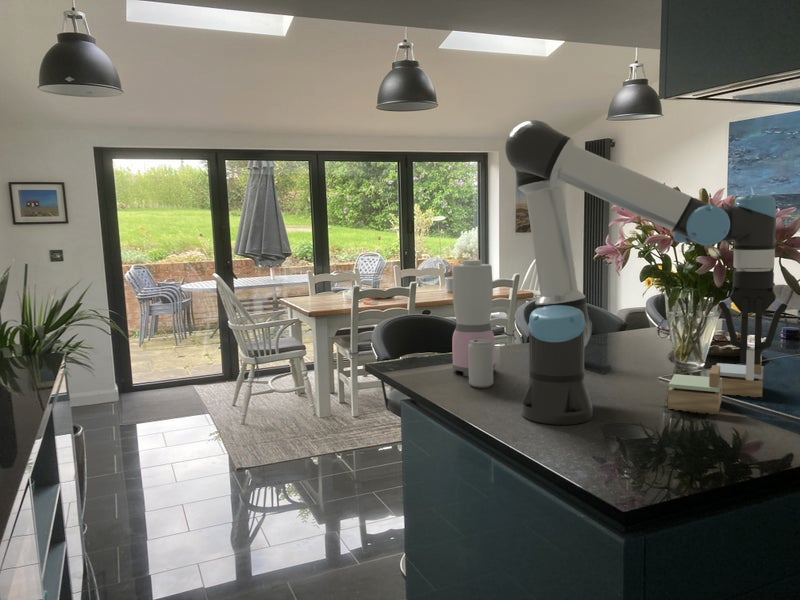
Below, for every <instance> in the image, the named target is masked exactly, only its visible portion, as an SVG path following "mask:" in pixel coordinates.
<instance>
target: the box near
mask: <svg viewBox="0 0 800 600" xmlns="http://www.w3.org/2000/svg"><path fill="white" fill-rule="evenodd" d="M668 388H669V389H668V398H667V399H668V401H667V403H668V405H667V410H669V409H674V410H673V411H678V410H682V411H681V412H687V411H689V412H690V413H696V412H697V413H699V414H705V413H709V414H708V415H714V414H720V409H721V404H722V399H723V398H722V395H723V394H722V384H721V387H720V391H719V392H712V391H701V390H691V389H680V388H670V387H668Z"/></svg>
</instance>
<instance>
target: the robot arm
mask: <svg viewBox="0 0 800 600" xmlns="http://www.w3.org/2000/svg"><path fill="white" fill-rule="evenodd" d="M504 149H505V150H504V151H505V155H506V158H507V161H508V162H509V165H510V166H511V167H512V168H513V169H514V170H515V175H516V182H517V189H518V191H520V192H522V193H524V195H525V198H526V205H527V212H528V219H529V225H530V232H531V239H532V247H533V253H534V260H535V268H536V272H537V278H538V279H537V280H538V281H537V282H538V287H539V297H538V298H537V299H536V300H535V302H534V303H535V309H534V310H533V311H531V312H530V314H529V319H528V321H529V322H528V325H527V329H528V333H529V334H528V335H529V336H528V337H529V338H528V340H529V341H528V347H529V348H528V350H529V354H528V356H529V358H528V359H529V361H528V362H529V364H528V365H529V376H528V377H529V379H528V384H527V386H526V390H525V393H524V395H523V398H522V402H521V415H522V417H524V418H526V419H527V420H529V421H532V422H534V423H535V422H536V423H541V424H546V425H559V426H560V425H561V426H565V425H577V424H582V423H586V422H588V421H590V420H591V419H593V410H594V409H593V404H592V401H591V398H590V394H589V391H588V388H587V386H586V382H585V348H586V346H587V345H588V344H589V341H590V339H591V337H592V332H593V323H592V319H591V318H590V317H591V316H589V313H588V305H587V299H586V295H585V294H584V293H582V292H581V291H580V290H579V289H578V284H577V276H576V268H575V262H574V256H573V255H574V254H573V249H572V243H571V242H572V240H571V234H570V228H569V219H568V214H567V213H568V212H567V208H566V206H567V205H566V201H565V193H564V187H565V185H566V184H568V185H569V186H571V187H574V188H577V189H579V190H581V191H584V193H585V192H586V193H588V194H591V195H592V196H594V197H597V198H599V199H601V200H603V201H606V202H607V203H610V204H612V205H614V206H616V207H618V208H621V209H623V210H626V211H628V212H629V213H631V214H634V215H636V216H638V217H641V218H644V219H645V220H646V221H649V222H652V223H653V224H656V225H659V226H661V227H663V228H664V229H667V230H669V231H672V233H673V234H672V236H673V240H674V242H675V243H686V244H692V243H694V244H698V245H700V246H704V247H706V246H708V247H709V246H712V245H713V246H714V245H716V244H719V243H720V242H722V243H723V242H724V243H725V242H727V243H729V242H733V265H732V266H733V267H734V268H735V270H734V271H733V272H732V290H731V292H730V295H729V297H728V298H726V299H724V300H720V301H719V302H718V307H719V308H720V309H721V311H722V312H723V315H724V318H725V324H726V327H727V331H728V335H729V340H730V344H731V345H732V346H733V347H736V348H739V350H740V356H739V357H740V358H739V362H740V365H746V380H753V381H754V364H756V365H760V363H761V355H762V350H763V349H769V348H771V346H772V343H773V341H774V337H775V335H776V331H777V328H778V325H779V322H780V319H781V317H782V314H783V313H784V312H785V311H786V310H787V308H788V304H787V302H785V301H784V302H783V301H781V300H779V299H778V298H777V297H776V294H775V291H774V285H775V284H774V282H775V281H774V280H775V272H774V270H772V269H774V268H775V256H776V255H775V254H776V249H775V247H776V246H775V244H776V231H777V229H776V225H777V219H778V218H777V206H776V205H777V204H776V199H775V197H774V196H773V195H769V194H763V195H761V194H760V195H744V196H738V197H736V198H735V201H734V205H728V206H727V205H726V206H718V205H715V204H710V203H707V202H705V201H703V200H700V199H698V198H695V197H693V196H692V195H689V194H686V193H684V192H682V191H680V190H678V189H675V188H674V187H671V186H668V185H666V184H664V183H661V182H659V181H657V180H654V179H652V178H650V177H648V176H646V175H643V174H641V173H639V172H637V171H634V170H632V169H630V168H627V167H625V166H623V165H621V164H618V163H616V162H614V161H611V160H609V159H607V158H604V157H603V156H601V155H598V154H596V153H594V152H591V151H589V150H587V149H584V148H582V147H580V146H578V145H576V144H575V141H574V138H572V137H569V136H568V135H565V134H564V133H561V132H560V131H558V130H556V129H555V128H553V127H552V126H550V125H549V123H546V122H544V121H542V120H538V119H532V120H531V119H530V120H526V121H523V122H521V123H519V124H517V125H516V126H514V128H513V129H512V130H511V131H510V133H509V134H508V135H507V138H506V141H505V148H504ZM732 303H733V304H734V306H735V307H736V308H737V309H738V311H739V312H741V324H740V327H741V329H740V340H739V339H738V336H737V332H736V328H735V324H734V319H733V314H732V311H731V308H732ZM772 304H773V310H774V312H773V314H772V318H771V322H770V324H769V327H768V330H767V334H766V337H765V340H764V341H762V332H763V330H762V328H763V313H765V312H766V311H767V310H768V308H770V306H771V305H772ZM749 314H754V315H755V316H754V317H755V319H754V320H755V321H754V322H755V324H754V347H748V337H749V336H748V335H749V333H748V332H749ZM761 364H762V363H761Z"/></svg>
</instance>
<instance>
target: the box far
mask: <svg viewBox="0 0 800 600" xmlns="http://www.w3.org/2000/svg"><path fill="white" fill-rule="evenodd" d="M720 378H722V395H729V396H736V395H740V396H741V397H747V396H750V397H749V398H757V397H762V398H763V387H764V385H763V384H764V383H763V382H764V381H763V380H764V378H763V379H756V378H754V381H753V380H746V379H736V378H729V376H720ZM740 396H739V397H740Z"/></svg>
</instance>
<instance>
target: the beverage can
mask: <svg viewBox="0 0 800 600" xmlns="http://www.w3.org/2000/svg"><path fill="white" fill-rule="evenodd" d="M468 358H469V376H468V384H470V385H471V386H472V387H474V388H480V389H483V388H484V389H485V388H491V386H492V385H493V384H494V369H493V345H492V343H491V340H488V339H473V340H470V344H469V345H468Z"/></svg>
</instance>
